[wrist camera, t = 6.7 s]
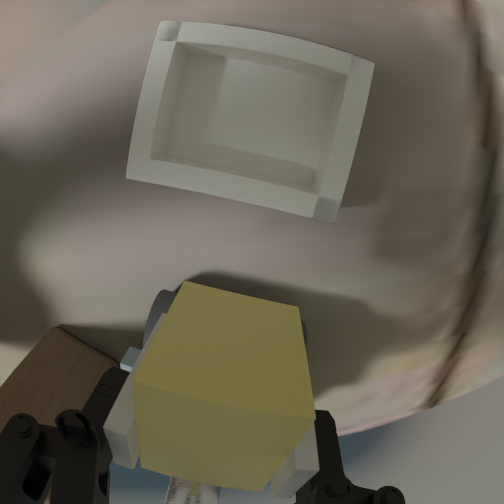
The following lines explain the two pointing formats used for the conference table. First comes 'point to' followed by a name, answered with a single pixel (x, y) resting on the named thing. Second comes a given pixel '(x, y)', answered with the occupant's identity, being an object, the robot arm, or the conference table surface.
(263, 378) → the yellow cube
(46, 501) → the block
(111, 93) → the conference table surface
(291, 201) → the tray
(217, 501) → the pin
